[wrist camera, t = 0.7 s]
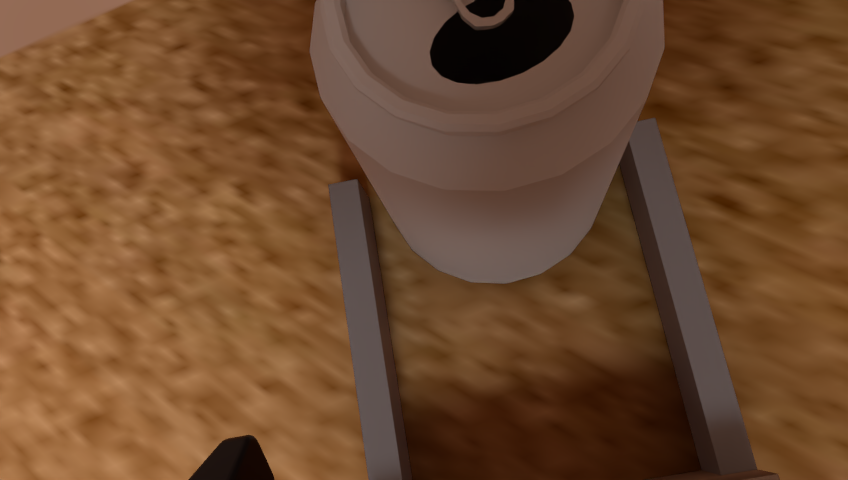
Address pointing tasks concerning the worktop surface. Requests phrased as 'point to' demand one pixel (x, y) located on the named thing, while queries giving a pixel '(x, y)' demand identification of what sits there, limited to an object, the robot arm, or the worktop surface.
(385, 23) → the can
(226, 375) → the worktop surface
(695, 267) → the guide rails
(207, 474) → the robot arm
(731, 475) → the stop block
